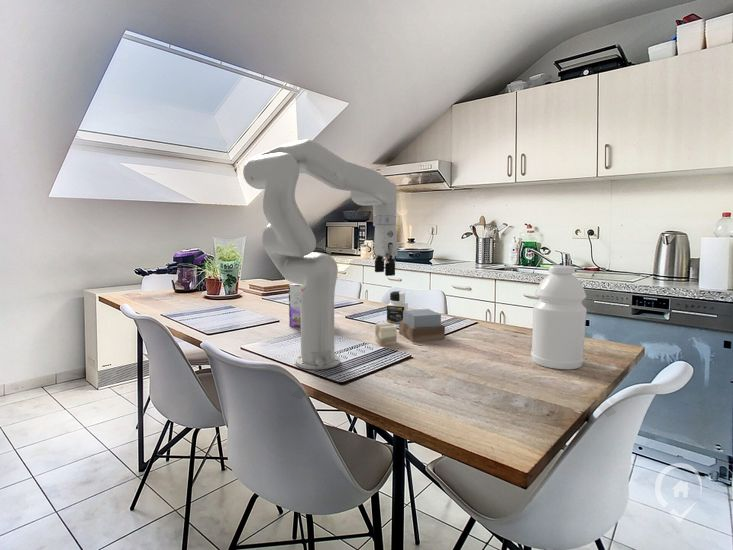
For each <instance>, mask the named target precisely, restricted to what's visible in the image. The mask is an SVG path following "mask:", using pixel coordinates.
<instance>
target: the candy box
mask: <svg viewBox="0 0 733 550" xmlns="http://www.w3.org/2000/svg"><path fill="white" fill-rule="evenodd" d="M305 286H306V285H301V284H295V283H290V284H288V312H289V313H288V315H289V318H288V320H289V321H288V322H289V325H288V327H292V328H296V327H299V328H301V314H300V301H301V297H302V294H303V292H304V289H305Z"/></svg>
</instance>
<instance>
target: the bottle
mask: <svg viewBox="0 0 733 550" xmlns="http://www.w3.org/2000/svg"><path fill="white" fill-rule="evenodd" d="M548 272H549V274H548V275H546V276H545V277H544V278H543V279H542V281H540V283H539V284H538V286H537V289H536V291H535V292H534V293H535V296H537V298H538V300H537V302H535V303H534V304H533V307H532V308H533V309H532V311H533V312H532V331H531V332H532V333H531V336H532V337H531V351H530V358H531V362H533V363H535V364H537V365H538V366H542V367H545V368H550V369H556V370H575V369H579V368H581V367H582V366H583V363H584V360H585V359H584V349H585V348H584V347H585V339H586V338H585V335H586V324H587V323H586V322H587V320H586V319H587V311H588V309H587V308H586V307H585V306H584V305H583V301H584V300H585V299H586V298H587V294H586V290H585V288H584V286H583V285H582V283H581V282H580V280H578V278H577V277H576V276H575V275H574V274H575V272H576V269H575V267H574V266H572V265H558V264H555V265H554V264H553V265H549V266H548Z"/></svg>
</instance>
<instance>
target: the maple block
mask: <svg viewBox="0 0 733 550" xmlns="http://www.w3.org/2000/svg"><path fill="white" fill-rule="evenodd" d="M374 325H375V328H374V329H375V330H374V335H375V336H374V338H375V339H374V342H375V343H376V344H378V345H379V346H380V347H383V346H394V345H395V346H396V345H397V340H398V339H397V332H398V331H397V329H398V328H397V326H396V325H395V324H392V322H387V323H375V324H374Z"/></svg>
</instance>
